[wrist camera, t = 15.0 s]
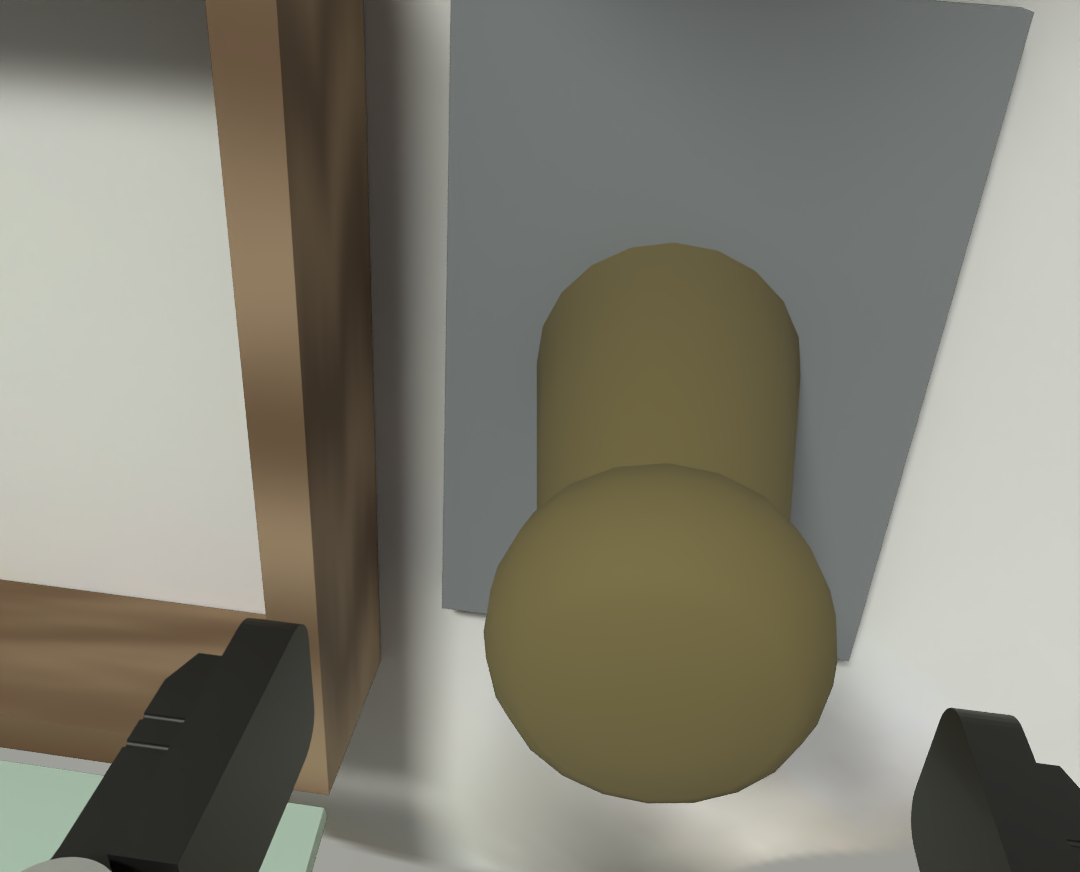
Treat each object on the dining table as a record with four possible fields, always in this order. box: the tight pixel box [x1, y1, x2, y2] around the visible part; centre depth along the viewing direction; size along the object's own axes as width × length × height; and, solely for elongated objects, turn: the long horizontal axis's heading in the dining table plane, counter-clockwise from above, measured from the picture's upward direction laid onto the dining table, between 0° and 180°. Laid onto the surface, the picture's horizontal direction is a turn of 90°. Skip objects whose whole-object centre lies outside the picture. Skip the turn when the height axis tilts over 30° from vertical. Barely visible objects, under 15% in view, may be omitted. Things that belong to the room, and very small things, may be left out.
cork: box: [484, 242, 837, 803], centre depth 18 cm, size 6×6×11 cm
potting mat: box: [442, 0, 1034, 661], centre depth 23 cm, size 16×11×1 cm
